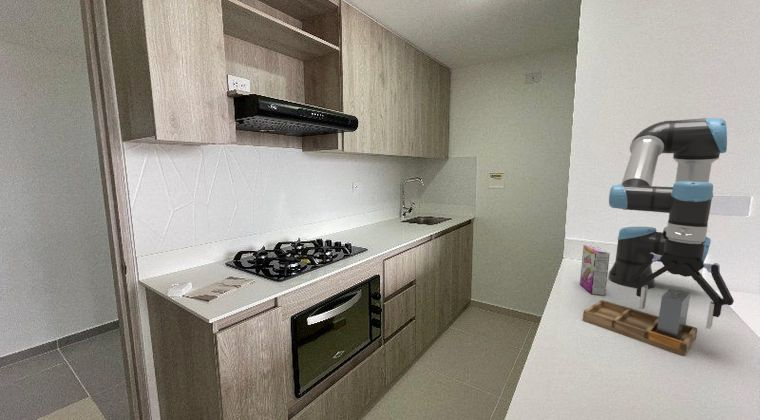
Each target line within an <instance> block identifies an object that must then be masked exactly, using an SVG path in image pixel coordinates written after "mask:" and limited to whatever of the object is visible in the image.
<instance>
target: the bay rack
mask: <svg viewBox="0 0 760 420" xmlns="http://www.w3.org/2000/svg"><path fill="white" fill-rule="evenodd" d="M582 314H583V315H582V321H583V322H586V323H589V324H591V325H595V326H597V327H600V328H603V329H606V330H609V331H612V332H613V333H614V332H615V333H617V334H619V335H623V336H626V337H629V338H632V339H634V340H638V341H640V342H644V343H646V344H648V345H651V346H655V347H657V348H660V349H663V350H665V351H668V352H671V353H674V354H678V355H680V356H683V357H685V356H686V355H687V353H688V351H689V350H690V348H691V347H692V345H693V343H694V342H695V341H696V338H697V333H698V327H695V326H692V325H689V324H686V326H685V332H684V335H683V336H682V338H681V339H680V340H677V339H674V338H671V337H668V336H665V335H662V334H659V333H657V327H658V320H659V315H654V314H651V313H649V312H648V313H647V312H644V311H642V310H639V309H638V310H637V309H634V308H630V307H627V306H624V305H620V304H618V303H615V302H610V301H607V300H604V299H601V300H599V301H597V302H596V303H594V304H593V305H591V306H589V307H588V308H586V309H585V310H583V313H582Z"/></svg>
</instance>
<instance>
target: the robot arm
mask: <svg viewBox="0 0 760 420" xmlns="http://www.w3.org/2000/svg"><path fill="white" fill-rule="evenodd" d="M727 146H728V130H727V122H726V120H725V119H724V118H722V117H704V118H693V119H692V118H691V119H690V118H689V119H678V120H665V121H660V122H656V123H654V124H651V125H649V126H648V127H646V128H644V129H643V130H641V131H640V132H639V133H638V134H636V135H635V137H634V138H633V139H632V140H631V143H630V146H629V152H630V156H629V160H628V162H627V165H626V169H625V172H624V174H623V178H622V181H621V184H614V185H612V186H611V187H610V190H609V195H608V205H609V207H610V208H612V209H619V210H625V211H628V210H629V211H638V212H639V211H640V212H653V213H654V212H655V213H662V214H663V213H664V214H668V220H667V225H666V226H665V227H664V228H663V231H662V232H661V231H657V229H656V227H653V226H651V227H650V226H626V227H622V228H621V229H619V231H618V236H617V245H616V254H615V261H614V263H613V265H612V267H611V268H610V270H609V272H608V275H607V279H609V280H610V281H611V282H613V283H615V284H618V285H622V286H627V287H631V288H636V292H635V293H636V297H640V298H639V304H638V305H639V306H638V310H640V311H642V310H644V309H645V307H646V303H647V302H646V301H647V294H648V289H653V288H654V287H655V283H656V280H655V278H657V277H659V276H660V275H662V274H664V273H666V272H668V273H670V274H672V275H678V276H681V277H685V278H687V277H691V278H692V279H693V281H695V282H696V283H697V285H698V286H700V289H702V290H703V291H704V293H705V294H706V295H707V296H708V297H709V299H710V300H711V301H710V303H709V306H708V312H707V318H706V324H705V325H706V326H705V329H707V330H711V329H712V327H713V323H714V322H713V321H714V317H715V318H719V317H720V316H721V313H722V306H732V305H733V304H734V301H735V300H734V298H733V296H732V295H731V292H730V291H729V288H728V286H727V284H726V283H725V280H724V278H723V277H722V274H721V273H720V270H721V269H720V264H719V263H717V262H716V263H715V262H714V263H705V261H706V258H707V255H708V254H709V249H710V245H711V243H712V242H711V241H712V240H711V238H710V237H708V236H707V232H708V224H709V223H708V222H709V217H710V211H711V207H712V202H713V201H712V199H713V197H714V184H713V183H711V182H709V181H710V176H711V170H712V164H713V163H714V162H716V161H718V160H719V159H720V155H721V154H724V153H727V149H728V147H727ZM661 154H673V157H672V159H673V160H674V161H675V162H677V168H676V176H675V182H674V183H673V185H672V186H652V185H653V181H654V175H655V173H656V172H655V171H656V169H657V168H656V167H657V163H658V159H659V156H660V155H661ZM655 262H658V263H662V265H663V266H662V267H660V268H658V269H657V270H656V271H654V272H653V270H652V264H653V263H655ZM702 269H705V270H706V271H707V273H711V277H712V279H713V281H714V283H715V285H716V287H717V289H718V291H719V293H720V295H719V294H718V293H717V292H716V290H715V289H714V288H713V287H712V286H711V285H710V284H709V282H708V281H707V279H705V278H704V276H703V274H701V272H700V271H701V270H702ZM720 296H721V297H720Z"/></svg>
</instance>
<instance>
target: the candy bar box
mask: <svg viewBox="0 0 760 420" xmlns="http://www.w3.org/2000/svg"><path fill="white" fill-rule="evenodd" d="M610 255H611V253H610V252H608V251H607V250H605V249H602V248H601V247H599V246H598V245H590V244H589V245H588V244H583V247H582V256H581V257H582V258H581V266H580V267H581V268H580V277H579V279H580V280H579V284H580V285H581V286H582V287H583V288H584V289H585V290H586V291H587V292H589V294H590V295H595V296H606V290H607V282H608V275H609V272H608V271H609V263H610Z"/></svg>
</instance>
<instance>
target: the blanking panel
mask: <svg viewBox="0 0 760 420" xmlns="http://www.w3.org/2000/svg"><path fill="white" fill-rule="evenodd" d="M690 297H691V292H689V291H685V290H680V289H676V288H672V287H671V288H670V289H668V290H667V291H666V292H665V293H664V294H663V295H661V298H660V299H661V301H660V307H659V315H658V317H659V320H658V327H657V333H659V334H662V335H665V336H668V337H671V338H674V339H677V340H680V339H681V338H682V336H683V335H684V332H685V326H686V325H687V318H688V311H689V305H690V300H691V298H690Z"/></svg>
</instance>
